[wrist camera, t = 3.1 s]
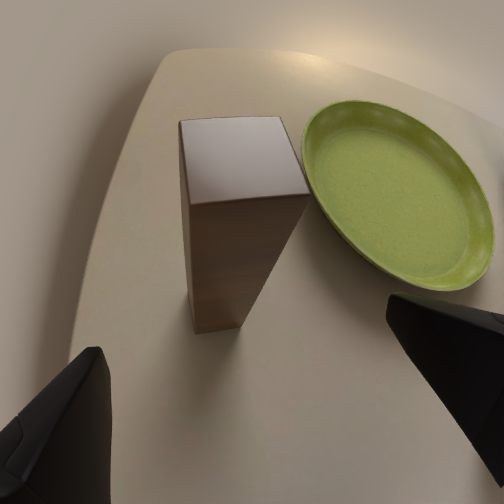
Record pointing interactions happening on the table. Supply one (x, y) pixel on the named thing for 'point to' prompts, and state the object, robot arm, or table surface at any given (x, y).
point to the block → (235, 211)
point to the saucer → (399, 194)
